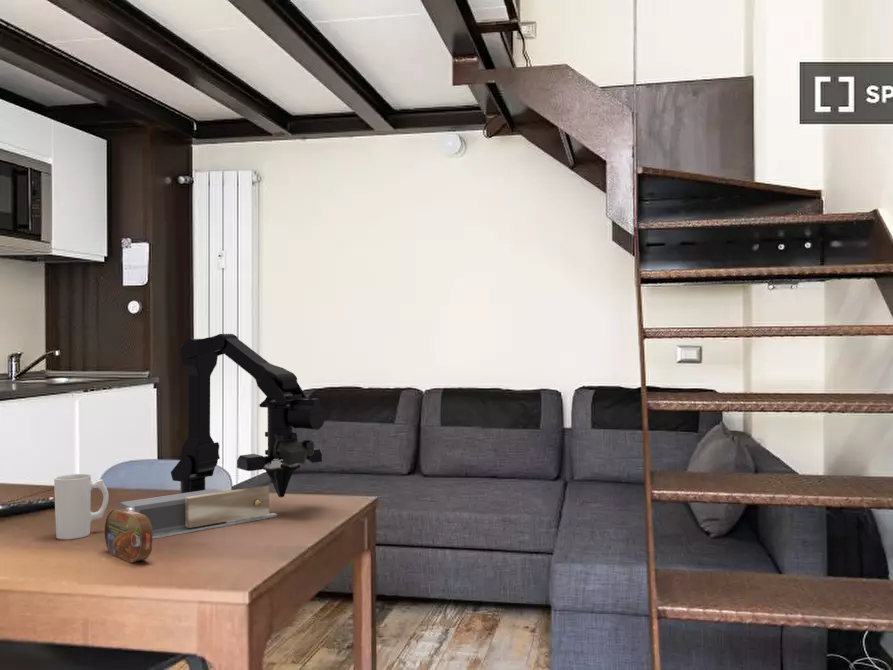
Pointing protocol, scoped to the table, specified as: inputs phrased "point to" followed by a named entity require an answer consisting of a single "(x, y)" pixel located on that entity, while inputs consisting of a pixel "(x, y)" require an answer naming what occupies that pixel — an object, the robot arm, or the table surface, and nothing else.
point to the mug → (76, 505)
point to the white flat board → (186, 530)
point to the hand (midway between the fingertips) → (281, 497)
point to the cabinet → (164, 510)
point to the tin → (128, 535)
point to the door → (226, 506)
